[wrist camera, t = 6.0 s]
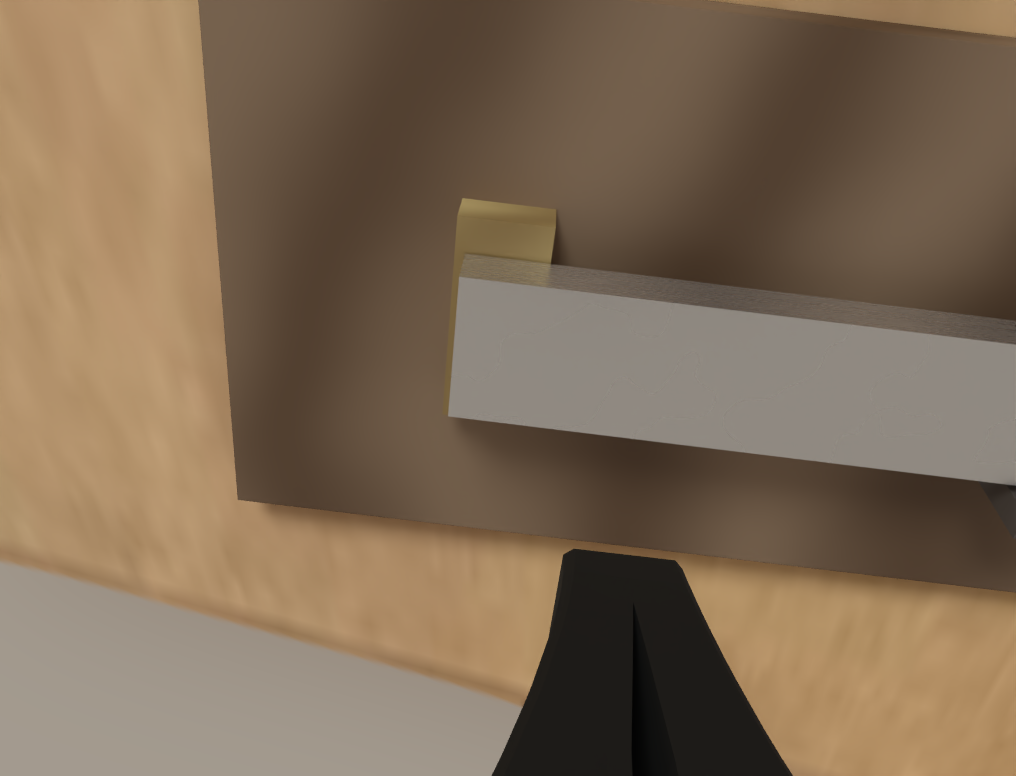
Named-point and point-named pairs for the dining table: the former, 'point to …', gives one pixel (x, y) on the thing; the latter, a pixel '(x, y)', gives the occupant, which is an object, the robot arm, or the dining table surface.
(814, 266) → the base board
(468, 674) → the dining table surface
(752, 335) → the strap
